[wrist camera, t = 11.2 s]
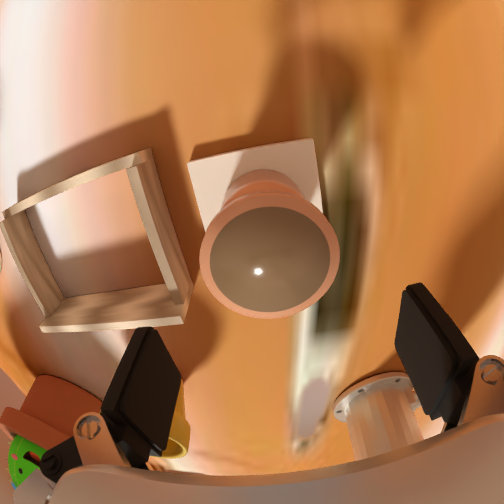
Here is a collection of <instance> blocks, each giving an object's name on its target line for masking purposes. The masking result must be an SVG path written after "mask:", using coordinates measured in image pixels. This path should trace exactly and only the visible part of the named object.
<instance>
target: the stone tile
mask: <svg viewBox="0 0 504 504" xmlns="http://www.w3.org/2000/svg"><path fill="white" fill-rule="evenodd" d="M187 166H188V169H189V173H190V177H191V181H192V185H193V189H194V192H195V196H196V200H197V204H198V207H199V211H200V215H201V218H202V222H203V225H204V229H205V232H206V230H207V228H208V226H209V224H210V222H211V221H212V220H213V218H214V217H215V216H216V214H217V213H218V212H219V211H220V209H221V206H222V202H223V199H224V196H225V193H226V191H227V189H228V188H229V186H230V185H231V184H232V183H233V182H234V181H235V180H236V179H237V178H238V177H240V176H241V175H243V174H245V173H247V172H250V171H253V170H258V169H269V170H274V171H278V172H280V173H282V174H284V175H286V176H288V177H289V178H290V179H291V180H292V181H293V182H294V183H295V184H296V185H297V187H298V188H299V190H300V191H301V193H302V194H303V196H304V198H305V199H306V200H307V201H309V202H310V203H312V204H313V205H314V206H316V207H317V208H318V209H319V210H320V211H321V212H322V213H323V210H322V200H321V191H320V183H319V175H318V167H317V160H316V153H315V146H314V139H312V138H306V139H299V140H292V141H285V142H279V143H273V144H267V145H261V146H255V147H250V148H245V149H240V150H235V151H230V152H225V153H220V154H216V155H211V156H207V157H203V158H199V159H195V160H190V161H189V162H187Z"/></svg>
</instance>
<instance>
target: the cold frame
mask: <svg viewBox="0 0 504 504" xmlns="http://www.w3.org/2000/svg"><path fill="white" fill-rule="evenodd" d="M131 166H132V167H131ZM128 167H130V168H128ZM125 168H128V169H126V171H127V175H128V178H129V181H130V185H131V188H132V191H133V194H134V197H135V201H136V204H137V207H138V210H139V213H140V216H141V219H142V222H143V225H144V227H145V230H146V233H147V236H148V239H149V241H150V244H151V247H152V250H153V252H154V255H155V258H156V260H157V263H158V265H159V268H160V270H161V273H162V276H163V278H164V280H165V284H158V285H152V286H145V287H138V288H132V289H125V290H118V291H111V292H104V293H97V294H90V295H83V296H75V297H68V298H64V296H63V294H62V292H61V290H60V289H59V287H58V285H57V283H56V281H55V279H54V277H53V275H52V273H51V271H50V269H49V267H48V265H47V263H46V261H45V259H44V256H43V254H42V252H41V250H40V248H39V245H38V243H37V241H36V238H35V236H34V233H33V231H32V228H31V226H30V223H29V221H28V218H27V215H26V213H25V210H24V209H26V208H28V207H30V206H33V205H35V204H37V203H39V202H41V201H43V200H46V199H48V198H50V197H52V196H55V195H57V194H59V193H62V192H64V191H66V190H69V189H71V188H74V187H76V186H79V185H81V184H84V183H86V182H89V181H92V180H94V179H97V178H100V177H102V176H105V175H108V174H111V173H114V172H116V171H119V170H122V169H125ZM2 213H3V215H4V218H5V220H3V221H2V222H0V228H1V231H2V233H3V236H4V238H5V240H6V243H7V245H8V247H9V250H10V252H11V254H12V256H13V259H14V261H15V263H16V265H17V267H18V269H19V271H20V273H21V275H22V277H23V279H24V281H25V283H26V285H27V287H28V288H29V290H30V292H31V294H32V296H33V297H34V299H35V301H36V303H37V304H38V306H39V308H40V309H41V311H42V313H43V314H44V316H45V319H44V321H43V322H42V323H41V325H40V326H39V327H40V329H41V330H42V332H43V333H50V332H84V331H104V330H120V329H134V328H138V327H148V326H150V327H158V326H168V325H178V324H184V321H185V317H186V314H187V310H188V306H189V303H190V299H191V296H192V292H193V289H194V285H193V282H192V280H191V277H190V274H189V271H188V268H187V265H186V262H185V259H184V257H183V254H182V251H181V248H180V245H179V242H178V238H177V235H176V232H175V229H174V226H173V223H172V220H171V217H170V213H169V210H168V207H167V203H166V200H165V197H164V193H163V190H162V187H161V183H160V180H159V176H158V172H157V169H156V165H155V161H154V158H153V154H152V150H151V148H147V149H144V150H141V151H138V152H135V153H132V154H129V155H126V156H123V157H121V158H118V159H115V160H112V161H110V162H107V163H104V164H102V165H99V166H96V167H94V168H91V169H89V170H86V171H84V172H81V173H79V174H77V175H74V176H72V177H70V178H67V179H65V180H63V181H61V182H58V183H56V184H54V185H52V186H50V187H48V188H46V189H43V190H41V191H39V192H37V193H35V194H33V195H31V196H29V197H27V198H26V199H24V200H22V201H20V202H18V203H16V204H14V205H13V206H11V207H9V208H8V209H6V210H5V211H3V212H2Z"/></svg>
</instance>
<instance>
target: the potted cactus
mask: <svg viewBox="0 0 504 504" xmlns="http://www.w3.org/2000/svg"><path fill="white" fill-rule="evenodd" d="M102 403H103V402H102V401H100V400H99V399H98V398H96V397H95V396H93V395H92V394H90V393H89V392H87V391H85V390H83V389H82V388H80V387H78V386H76V385H74V384H72V383H70V382H67V381H65V380H63V379H60V378H57V377H54V376H50V375H40V376H38V377H37V378H36V380H35V382H34V383H33V385H32V387H31V389H30V391H29V393H28V395H27V397H26V399H25V401H24V403H23V405H22V407H21V409H20V411H19V410H16V409H14V408H11V407H6V408H5V410H4V412H3V414H2V416H1V418H0V428H1V429H2V431H3V432H4V433H5V434H6V435H7V436H8V437H9V438H10V439H11V440H13V441H12V444H11V446H10V450H9V456H8V464H9V470H10V474H11V478H12V480H13V482H14V483H12V486H13V488H14V489H15V490H16V488H17V487H18V486H19V485H20V484H21V483H22V482H23V481H24V480H25V479H26V478H27V477H28V476H29V475H30V474H31V473H32V472H33V471H34V470H35V469H36V468H38V469H39V470H40V460H41V457H42V455H43V454H44V453H45V452H46V451H48V450H49V449H51V448H53V447H55V446H56V445H58V444H60V443H62V442H63V441H65V440H67V439H69V438H70V437H72V436H74V434H73V428H74V424H75V423H76V421H77V420H78V418H79V417H80V416H82V415H83V414H85V413H88V412H96V413H100V410H101V409H100V408H101V405H102ZM14 484H15V485H14Z"/></svg>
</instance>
